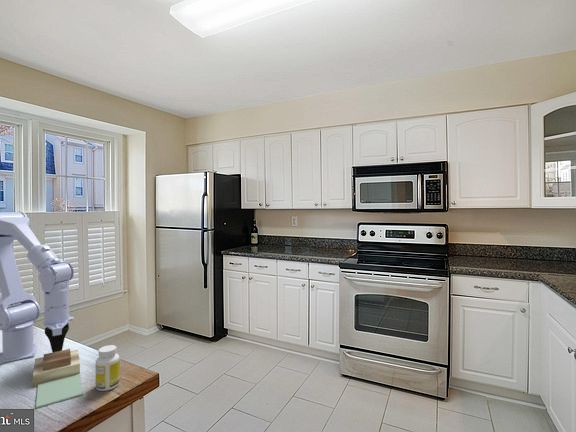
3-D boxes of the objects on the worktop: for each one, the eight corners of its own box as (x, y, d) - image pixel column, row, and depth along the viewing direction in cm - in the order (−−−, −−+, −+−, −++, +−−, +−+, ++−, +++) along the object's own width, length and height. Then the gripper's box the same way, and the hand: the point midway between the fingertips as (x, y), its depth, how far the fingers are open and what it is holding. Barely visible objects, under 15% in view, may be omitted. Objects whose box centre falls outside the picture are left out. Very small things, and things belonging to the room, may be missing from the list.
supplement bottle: (120, 378, 85) (120, 342, 85) (119, 388, 80) (119, 351, 80) (96, 382, 83) (96, 345, 82) (94, 393, 78) (94, 355, 78)
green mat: (38, 385, 81) (38, 384, 81) (80, 374, 86) (80, 373, 86) (35, 408, 72) (35, 406, 72) (82, 395, 77) (82, 393, 77)
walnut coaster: (43, 361, 87) (43, 354, 87) (70, 355, 91) (70, 348, 91) (43, 370, 82) (42, 363, 82) (70, 364, 86) (70, 357, 86)
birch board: (35, 369, 88) (35, 358, 88) (77, 359, 94) (77, 349, 94) (33, 386, 80) (32, 375, 80) (79, 374, 86) (79, 363, 86)
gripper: (74, 309, 88) (75, 357, 88) (72, 296, 99) (72, 339, 100) (42, 314, 83) (43, 364, 84) (44, 300, 95) (44, 344, 95)
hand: (57, 351), depth 91 cm, fingers closed
